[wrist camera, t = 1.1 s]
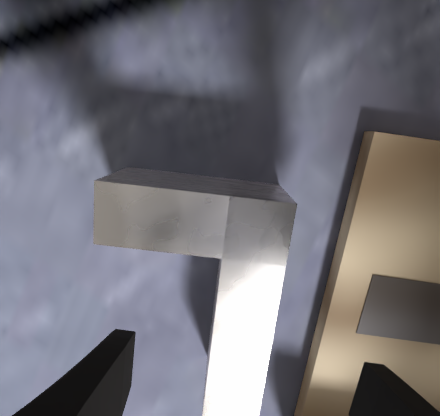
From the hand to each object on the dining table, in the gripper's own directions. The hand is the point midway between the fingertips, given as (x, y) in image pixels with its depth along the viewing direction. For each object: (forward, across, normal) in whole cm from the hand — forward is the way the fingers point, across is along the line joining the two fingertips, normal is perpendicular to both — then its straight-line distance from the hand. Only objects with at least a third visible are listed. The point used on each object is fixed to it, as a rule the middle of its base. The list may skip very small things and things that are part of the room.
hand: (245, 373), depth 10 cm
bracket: (+7, +2, 0) cm, 7 cm away
